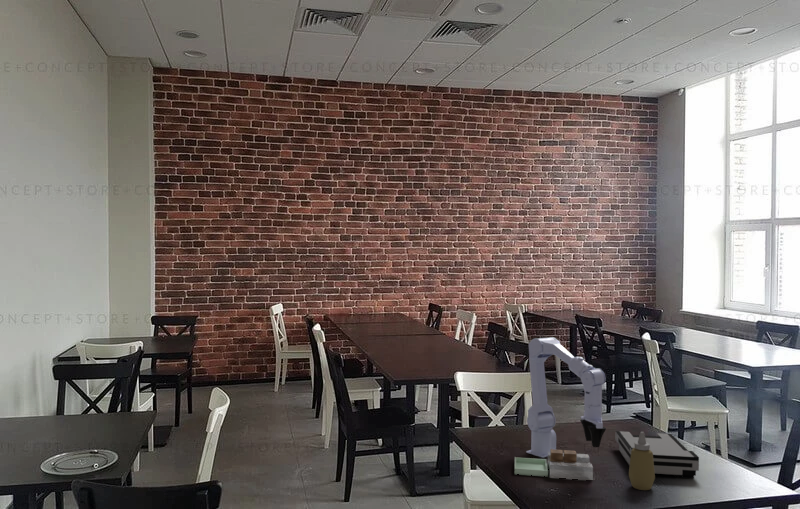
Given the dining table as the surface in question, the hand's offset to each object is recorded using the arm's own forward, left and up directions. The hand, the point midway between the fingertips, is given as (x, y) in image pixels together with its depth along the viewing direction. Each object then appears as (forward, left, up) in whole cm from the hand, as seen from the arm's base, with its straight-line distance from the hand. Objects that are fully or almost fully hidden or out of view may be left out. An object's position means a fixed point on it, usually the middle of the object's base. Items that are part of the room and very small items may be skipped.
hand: (592, 443), depth 215 cm
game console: (-28, +7, -11) cm, 31 cm away
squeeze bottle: (-2, +17, -11) cm, 20 cm away
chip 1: (+8, -9, -7) cm, 14 cm away
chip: (+5, -6, -7) cm, 10 cm away
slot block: (+5, -6, -10) cm, 13 cm away
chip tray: (+13, -16, -10) cm, 23 cm away
